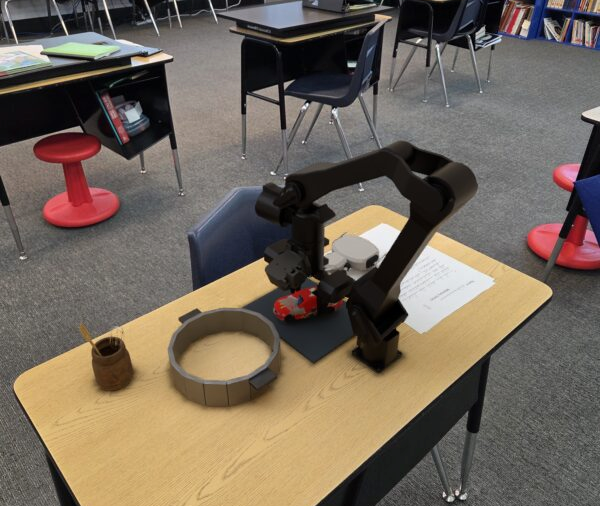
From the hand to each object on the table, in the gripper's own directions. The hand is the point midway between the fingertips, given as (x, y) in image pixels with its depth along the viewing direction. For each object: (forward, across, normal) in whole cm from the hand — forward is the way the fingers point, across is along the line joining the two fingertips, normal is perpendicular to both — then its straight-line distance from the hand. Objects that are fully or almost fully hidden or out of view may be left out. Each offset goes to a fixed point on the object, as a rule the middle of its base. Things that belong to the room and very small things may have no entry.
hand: (307, 305), depth 102 cm
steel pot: (+2, 0, -19) cm, 19 cm away
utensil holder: (+2, -10, -34) cm, 36 cm away
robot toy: (+2, -6, +16) cm, 18 cm away
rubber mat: (+2, 0, 0) cm, 2 cm away
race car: (+1, 0, 0) cm, 1 cm away
